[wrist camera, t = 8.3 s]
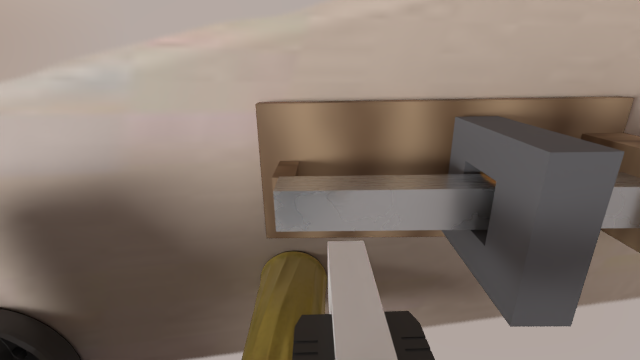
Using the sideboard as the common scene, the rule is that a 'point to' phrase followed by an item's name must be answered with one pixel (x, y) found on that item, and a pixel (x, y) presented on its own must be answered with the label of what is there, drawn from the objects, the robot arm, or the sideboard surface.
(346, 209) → the light grey bar
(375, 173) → the wooden stand
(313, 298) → the vase
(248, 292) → the sideboard surface
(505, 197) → the collar
